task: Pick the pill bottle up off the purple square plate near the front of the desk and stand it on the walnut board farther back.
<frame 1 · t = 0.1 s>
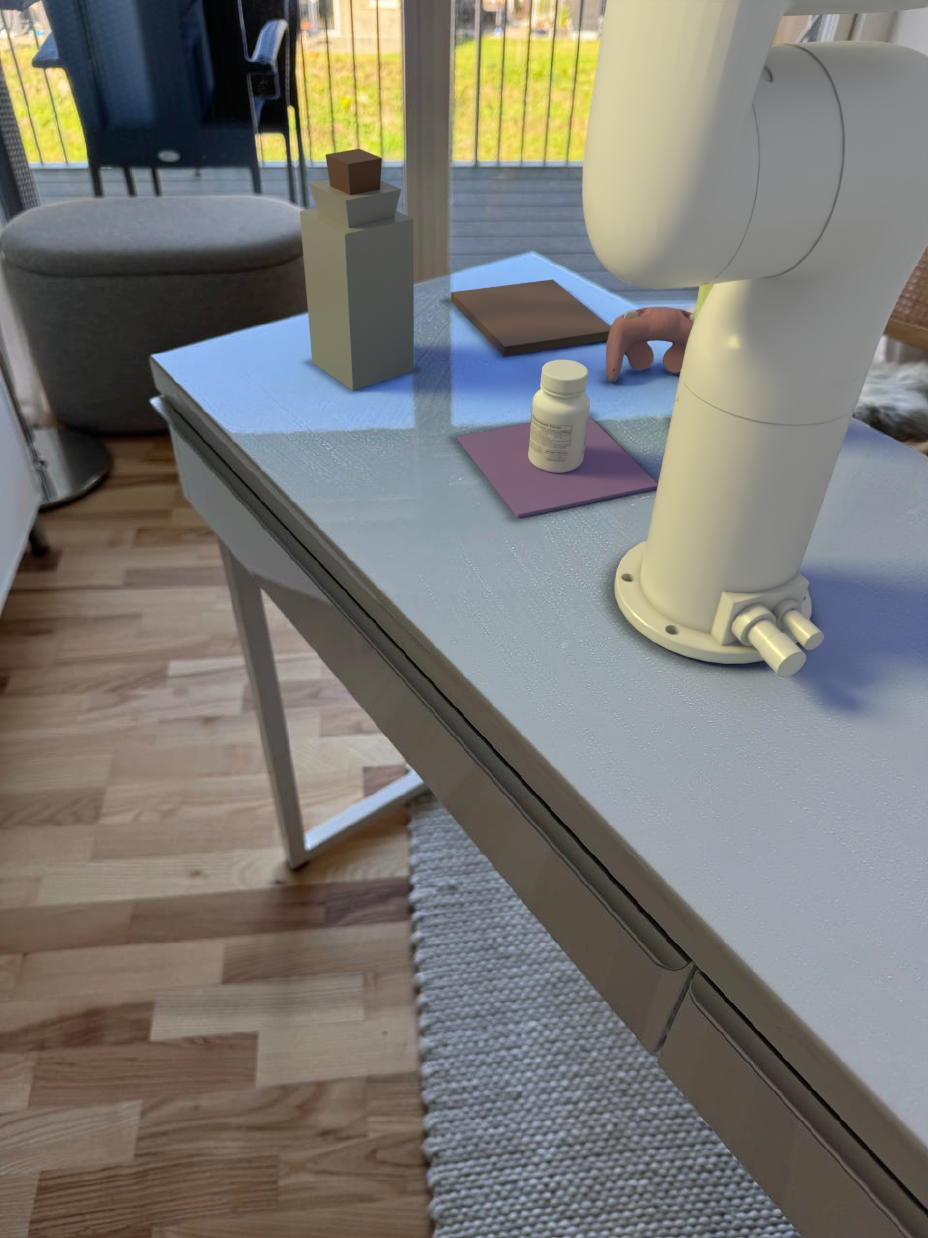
perfume bottle: (363, 368, 85), on the table
pill bottle: (554, 461, 73), resting on purple square plate
tube: (706, 428, 79), on the table
purple square plate: (554, 462, 73), on the table
board: (529, 319, 94), on the table
video game controller: (655, 376, 86), on the table
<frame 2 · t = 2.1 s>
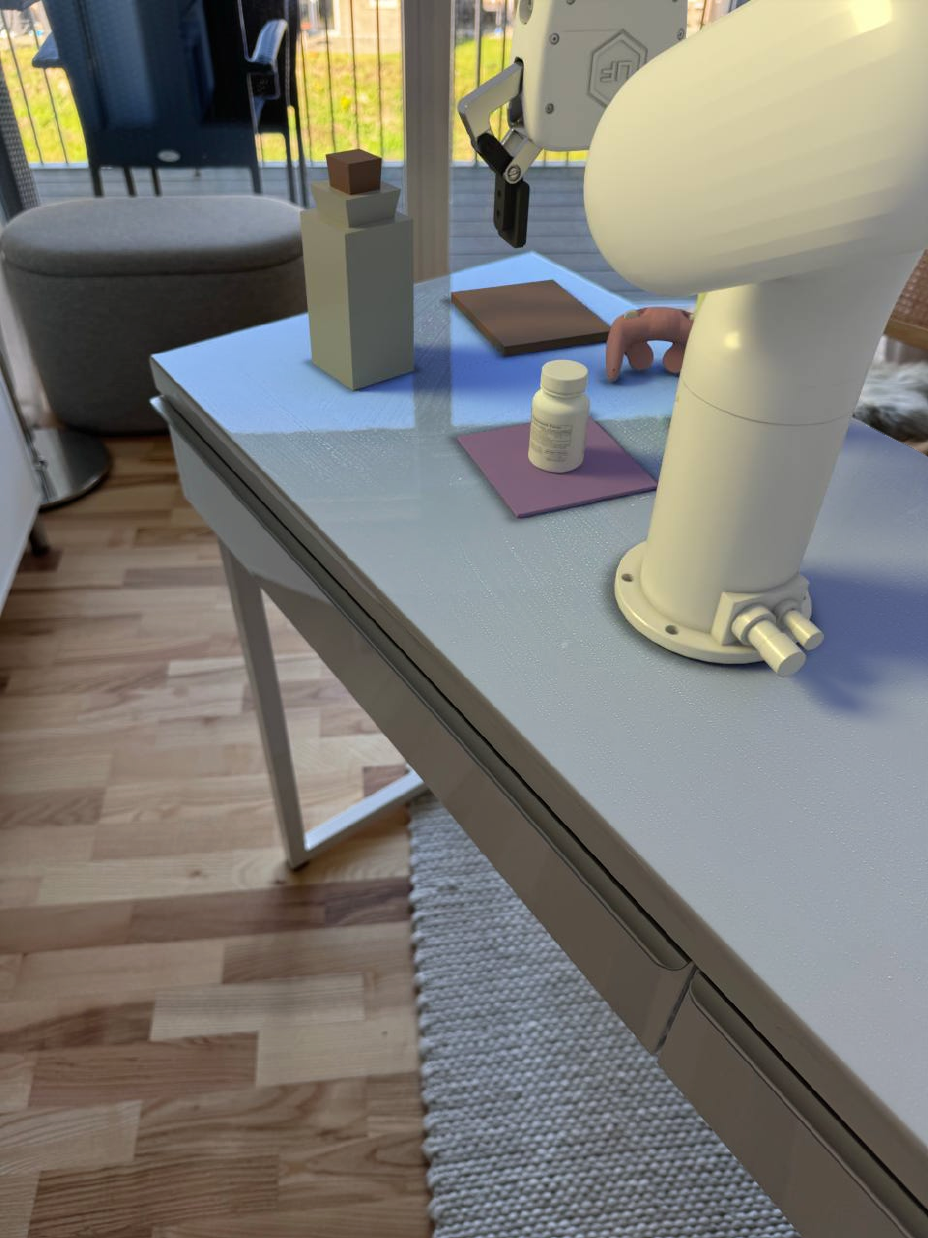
hand: (575, 233, 62), 18 cm above the table, tool pointing down, fingers open, 9 cm apart
nothing on the table moved.
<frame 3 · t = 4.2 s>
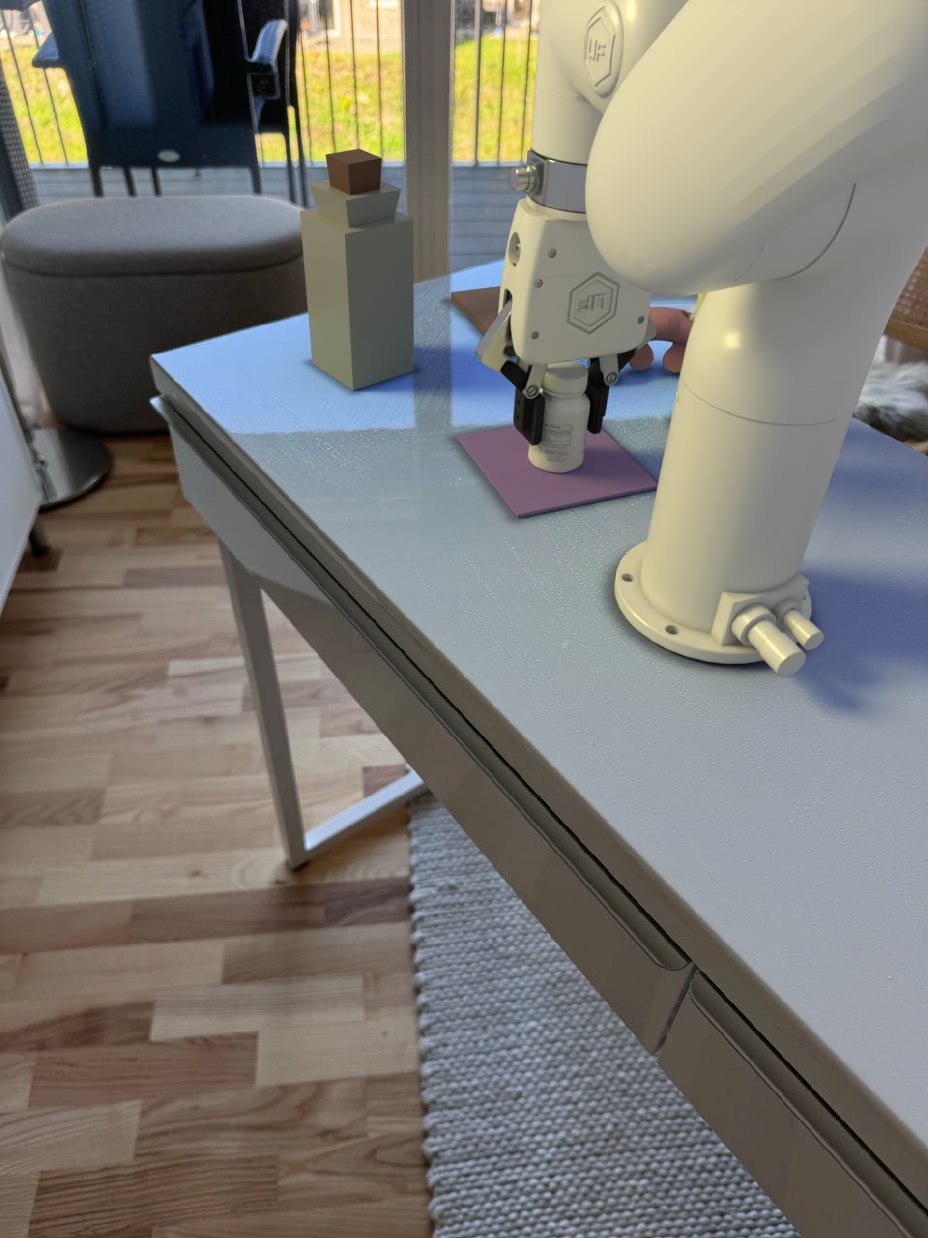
hand: (558, 428, 71), 3 cm above the table, tool pointing down, fingers closed on pill bottle, 4 cm apart
pill bottle: (554, 461, 73), resting on purple square plate, touching gripper
everything else where it was.
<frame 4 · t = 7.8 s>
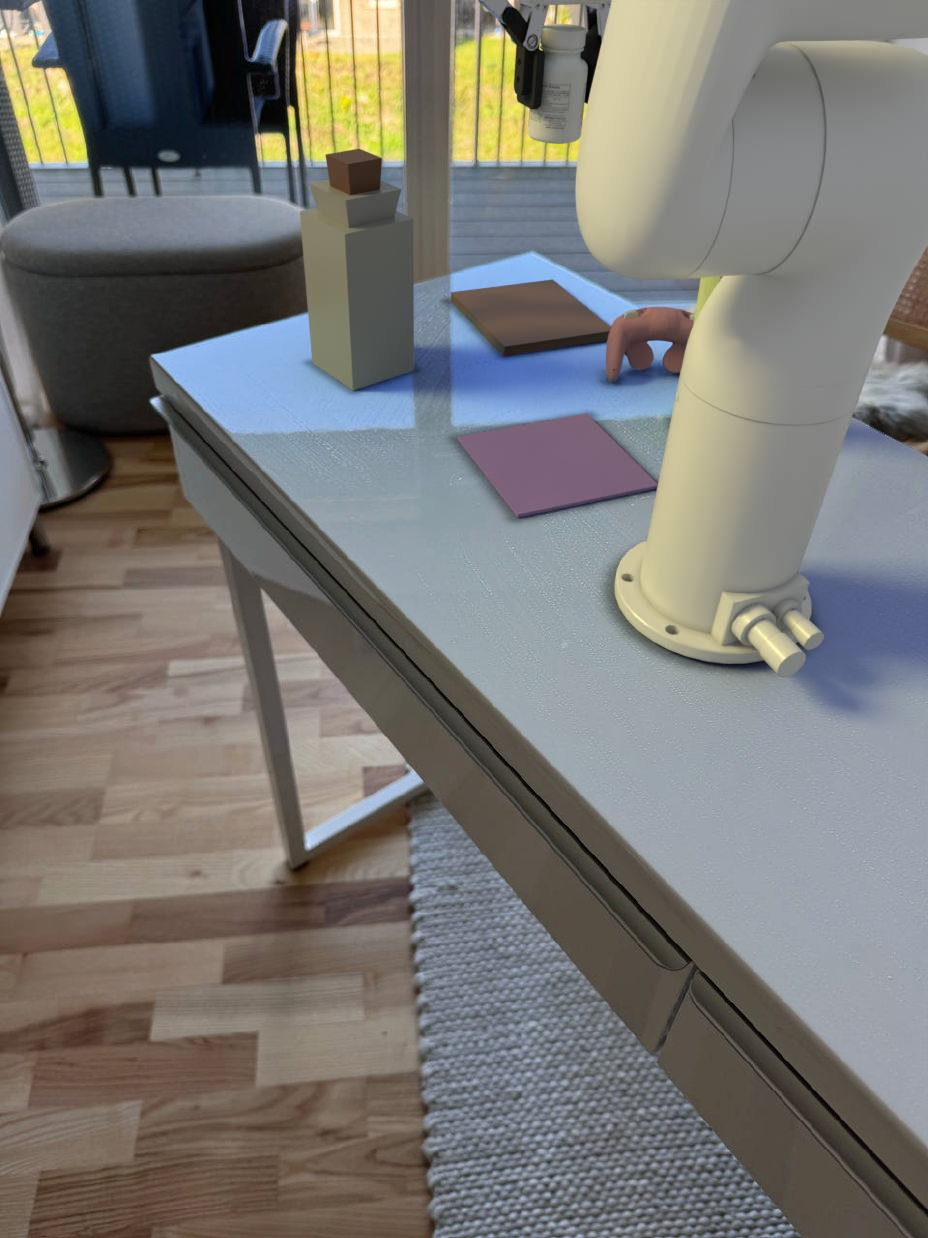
hand: (557, 100, 74), 22 cm above the table, tool pointing down, fingers closed on pill bottle, 4 cm apart
pill bottle: (553, 139, 76), point 19 cm above the table, touching gripper
everything else where it was.
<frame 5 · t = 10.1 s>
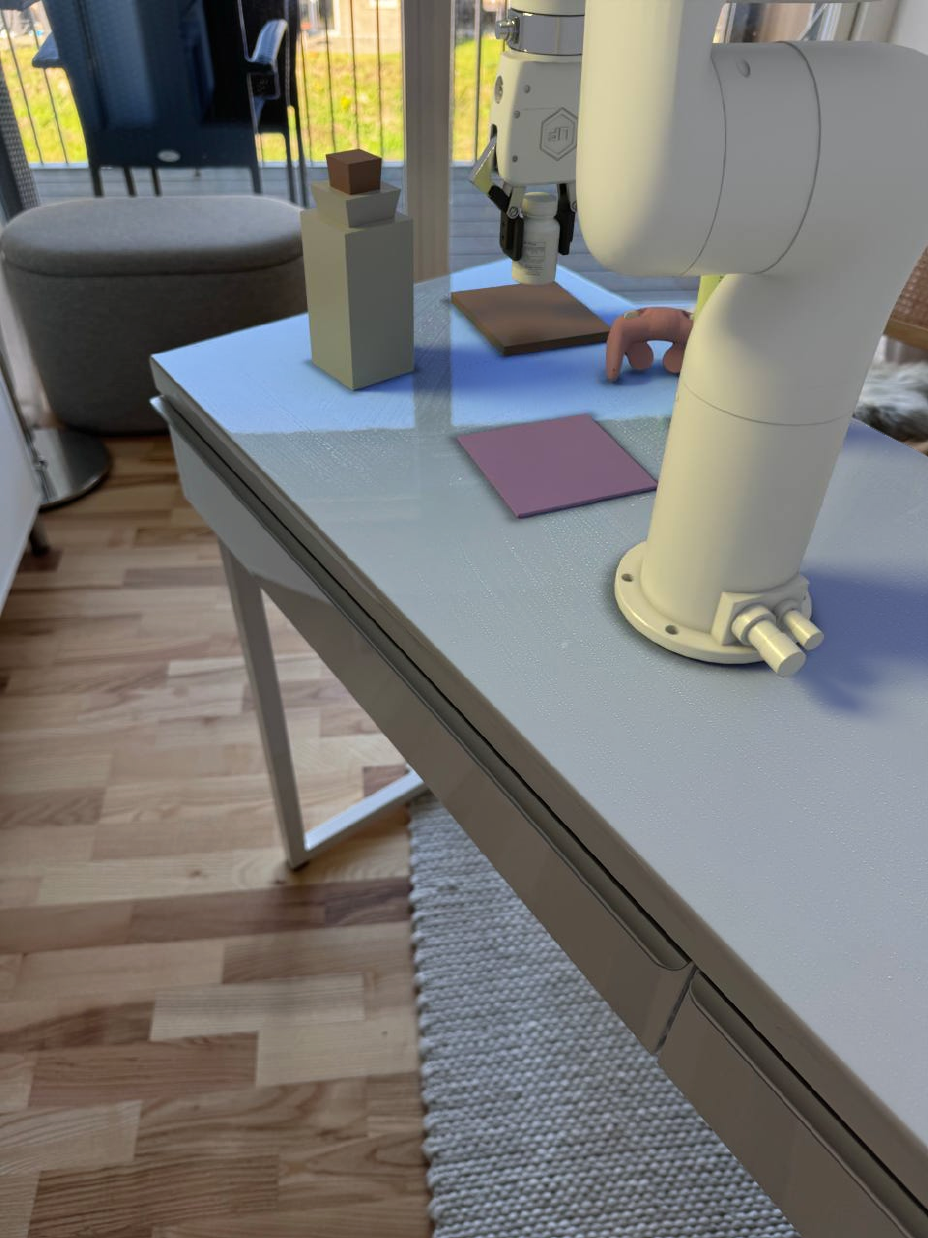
hand: (535, 251, 90), 7 cm above the table, tool pointing down, fingers closed on pill bottle, 4 cm apart
pill bottle: (532, 280, 92), point 4 cm above the table, touching gripper
everything else where it was.
when the fingers open (4 cm above the table, at t = 11.4 s): pill bottle stays where it is, resting on board.
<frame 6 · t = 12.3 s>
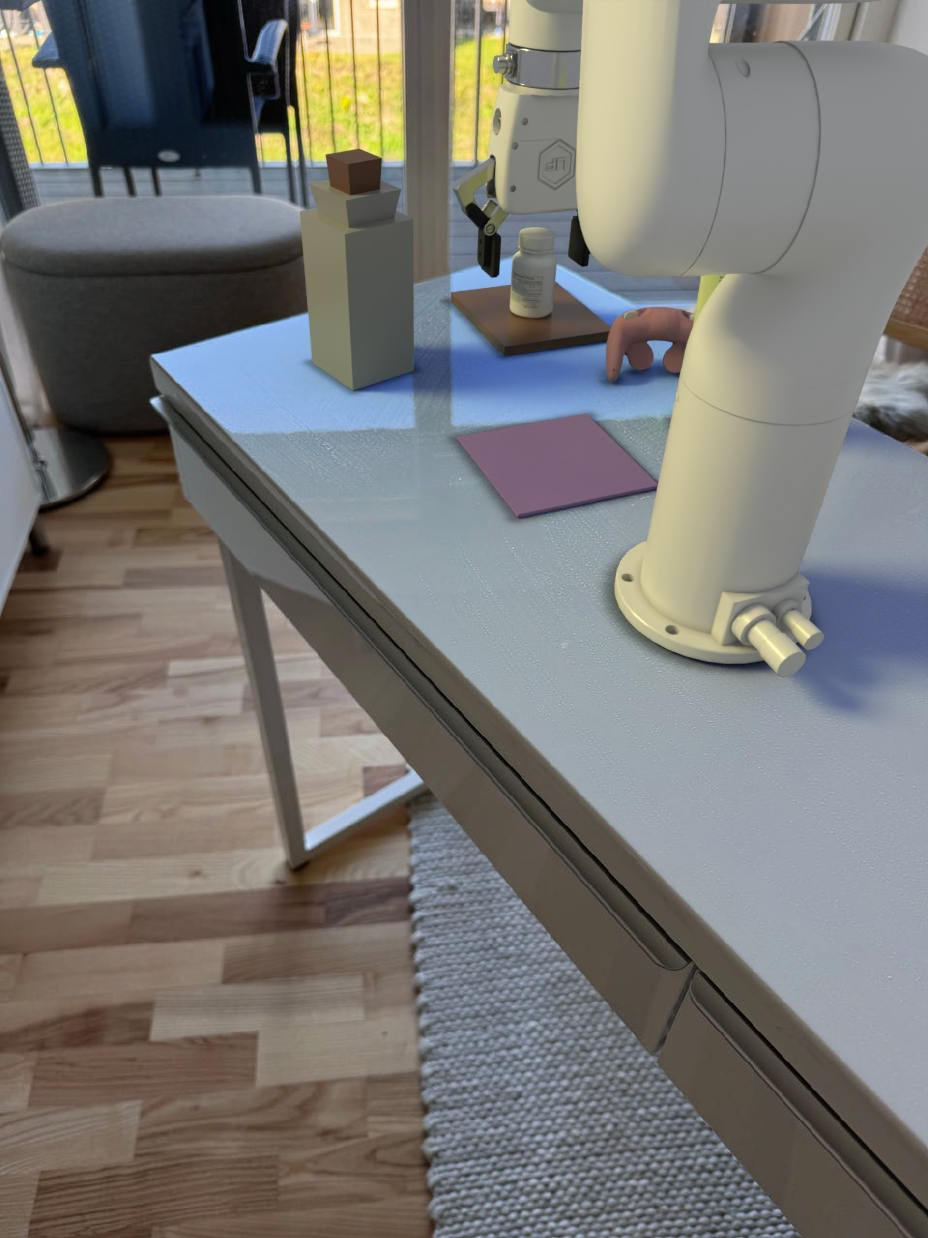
hand: (534, 267, 91), 5 cm above the table, tool pointing down, fingers open, 9 cm apart
pill bottle: (530, 312, 94), point 1 cm above the table, touching board
everything else where it was.
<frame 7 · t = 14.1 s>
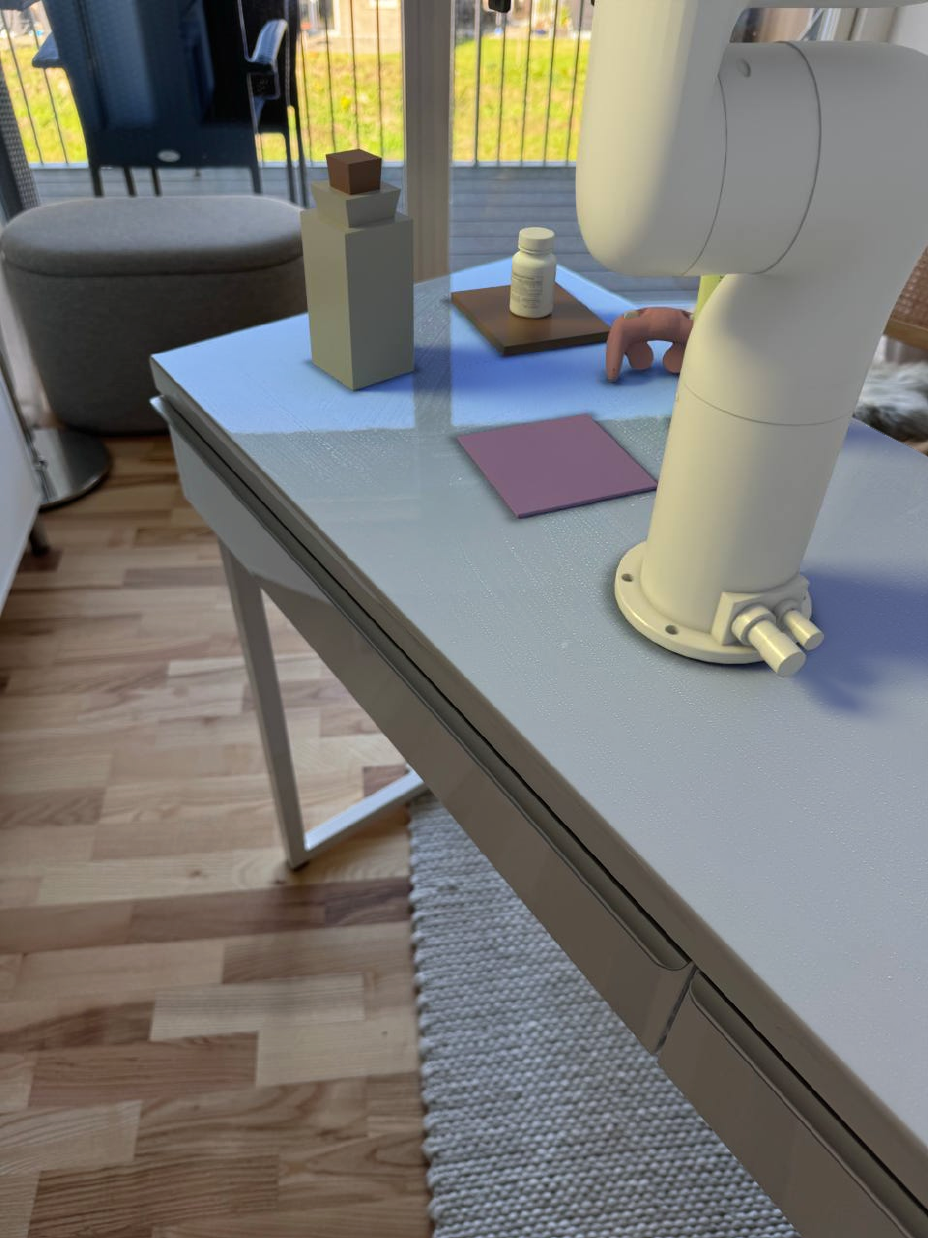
hand: (551, 9, 77), 27 cm above the table, tool pointing down, fingers open, 9 cm apart
nothing on the table moved.
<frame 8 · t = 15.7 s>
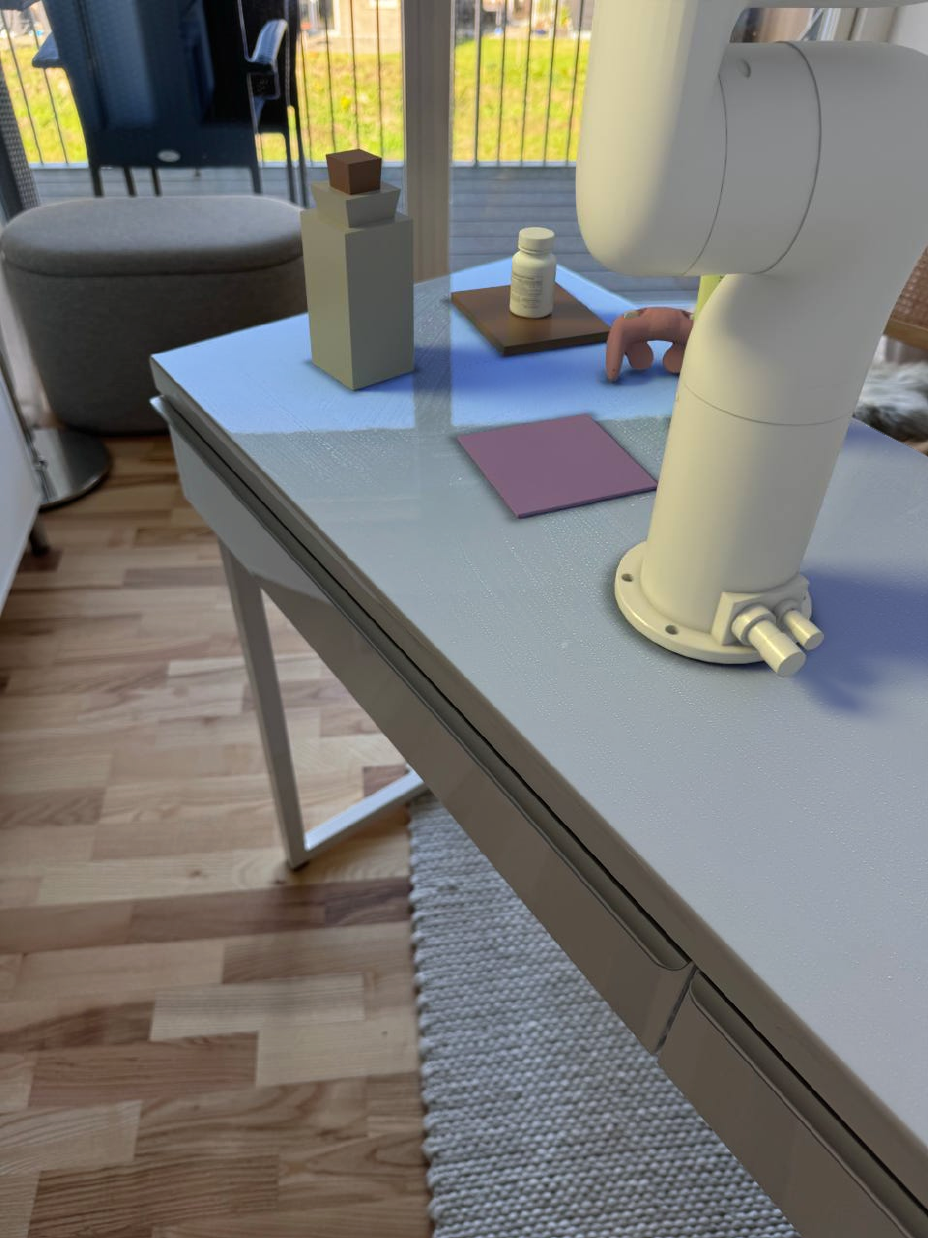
nothing on the table moved.
at the end: pill bottle inside the target area on the board (0.1 cm from its centre), point 0.8 cm above the board's base; pill bottle touching board; pill bottle tilted 0° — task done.
